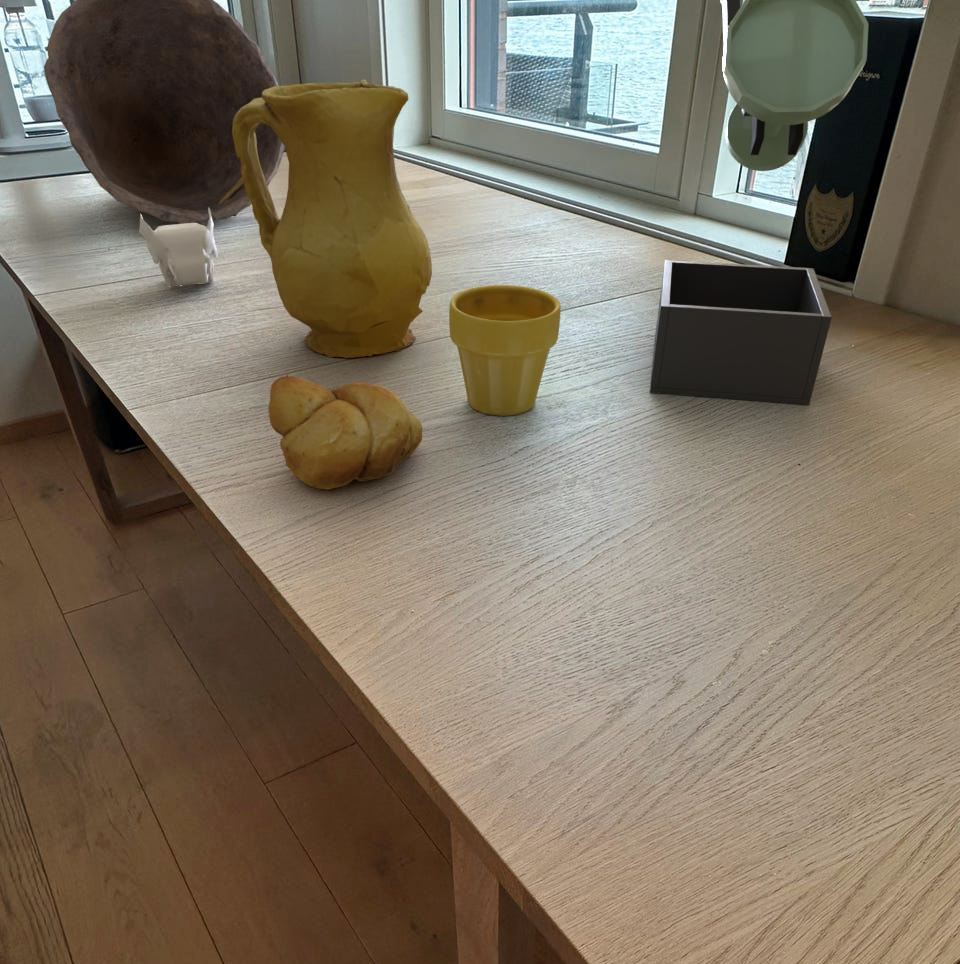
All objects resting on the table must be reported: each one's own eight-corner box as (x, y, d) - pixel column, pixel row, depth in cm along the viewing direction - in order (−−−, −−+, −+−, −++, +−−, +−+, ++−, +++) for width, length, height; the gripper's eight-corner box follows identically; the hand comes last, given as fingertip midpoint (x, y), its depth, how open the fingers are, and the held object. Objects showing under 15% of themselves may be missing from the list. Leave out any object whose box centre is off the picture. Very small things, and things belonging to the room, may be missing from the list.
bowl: (107, 6, 148) (119, -92, 122) (280, 151, 164) (325, 92, 138) (4, 172, 146) (-5, 108, 119) (190, 302, 162) (218, 272, 136)
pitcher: (352, 376, 88) (322, 90, 74) (247, 342, 99) (202, 84, 84) (466, 338, 99) (459, 79, 84) (360, 310, 109) (337, 76, 94)
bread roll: (406, 432, 80) (401, 346, 74) (448, 477, 73) (446, 387, 68) (270, 459, 75) (255, 370, 70) (300, 510, 68) (286, 416, 63)
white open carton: (159, 302, 108) (142, 226, 102) (148, 276, 116) (131, 204, 111) (235, 293, 111) (222, 219, 105) (219, 268, 119) (206, 198, 114)
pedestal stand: (828, 73, 87) (871, -28, 74) (823, 189, 87) (864, 110, 74) (708, 76, 89) (729, -22, 76) (702, 191, 89) (722, 113, 76)
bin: (794, 348, 96) (813, 268, 91) (809, 405, 84) (832, 316, 79) (654, 338, 99) (665, 259, 93) (649, 392, 87) (661, 306, 81)
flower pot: (576, 408, 84) (584, 306, 78) (489, 434, 79) (490, 328, 73) (514, 373, 90) (517, 277, 84) (430, 396, 86) (427, 296, 80)
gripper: (865, -68, 84) (850, 168, 84) (701, -62, 86) (686, 169, 86) (893, -137, 77) (876, 121, 77) (712, -130, 79) (696, 123, 79)
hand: (776, 146), depth 81 cm, fingers closed on pedestal stand, 3 cm apart
